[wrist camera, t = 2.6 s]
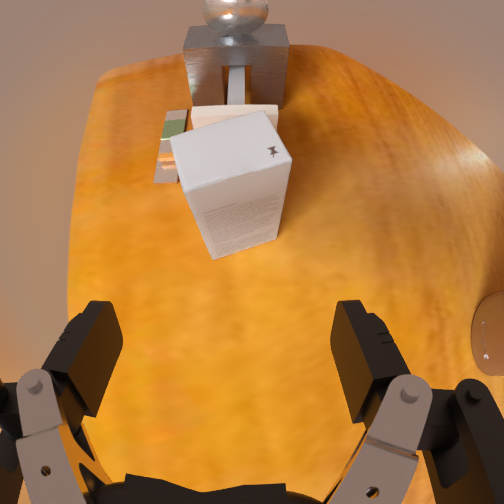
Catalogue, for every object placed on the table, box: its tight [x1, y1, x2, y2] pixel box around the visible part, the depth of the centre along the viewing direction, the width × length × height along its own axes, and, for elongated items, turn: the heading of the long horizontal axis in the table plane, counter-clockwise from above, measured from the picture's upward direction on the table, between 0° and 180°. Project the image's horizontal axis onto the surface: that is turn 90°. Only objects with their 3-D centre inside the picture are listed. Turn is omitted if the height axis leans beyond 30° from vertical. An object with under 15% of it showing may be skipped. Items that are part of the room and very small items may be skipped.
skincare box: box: [170, 110, 293, 260], centre depth 21 cm, size 6×4×12 cm
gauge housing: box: [154, 0, 289, 185], centre depth 24 cm, size 13×15×15 cm
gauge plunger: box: [158, 65, 278, 162], centre depth 27 cm, size 11×11×6 cm
